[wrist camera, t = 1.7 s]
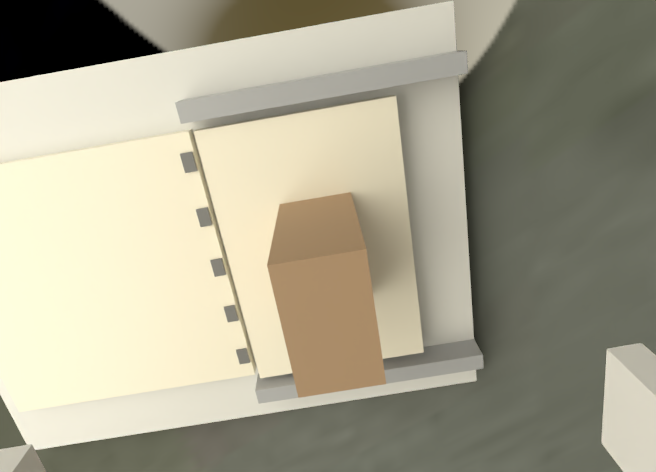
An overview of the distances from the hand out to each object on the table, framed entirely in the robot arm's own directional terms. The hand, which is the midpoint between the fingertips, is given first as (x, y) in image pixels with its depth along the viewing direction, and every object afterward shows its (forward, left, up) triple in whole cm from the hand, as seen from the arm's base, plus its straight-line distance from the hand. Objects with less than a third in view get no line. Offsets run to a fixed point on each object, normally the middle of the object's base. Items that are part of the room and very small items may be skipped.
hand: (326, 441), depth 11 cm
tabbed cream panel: (0, 0, -11) cm, 11 cm away
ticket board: (+5, 0, -12) cm, 13 cm away
